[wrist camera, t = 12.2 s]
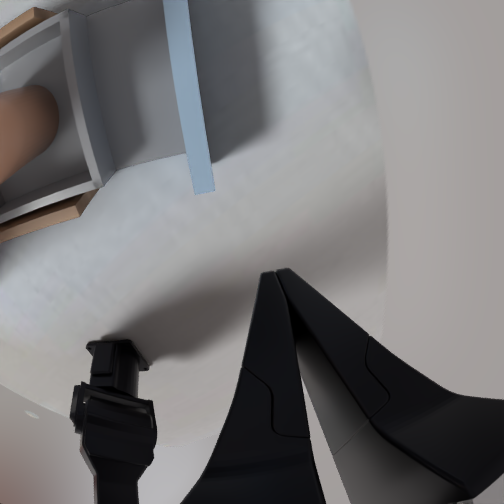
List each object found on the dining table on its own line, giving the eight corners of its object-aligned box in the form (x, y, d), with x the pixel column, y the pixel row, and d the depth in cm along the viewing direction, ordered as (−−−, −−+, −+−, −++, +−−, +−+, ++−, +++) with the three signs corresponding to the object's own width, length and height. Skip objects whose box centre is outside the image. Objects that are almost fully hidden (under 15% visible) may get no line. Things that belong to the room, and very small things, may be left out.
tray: (211, 166, 19) (215, 191, 16) (16, 221, 18) (-8, 250, 14) (184, -27, 10) (181, -52, 7) (-25, 70, 9) (-59, 78, 5)
